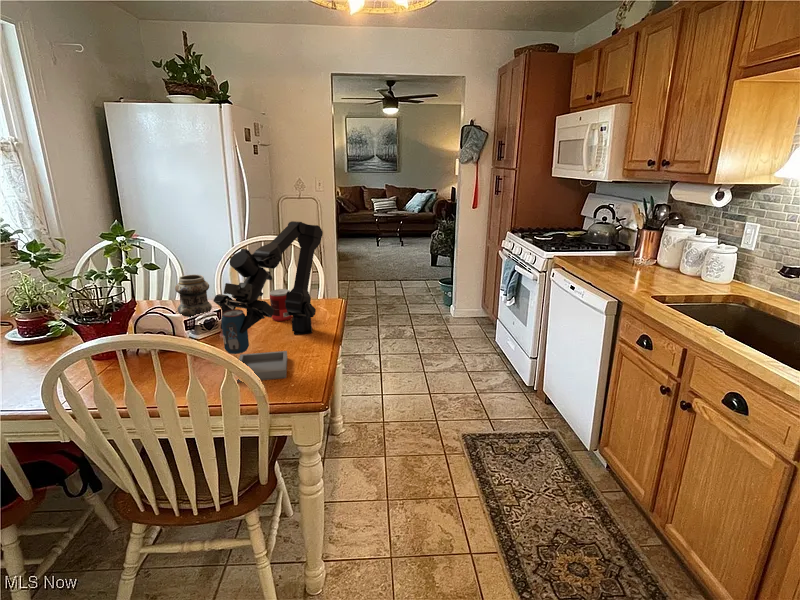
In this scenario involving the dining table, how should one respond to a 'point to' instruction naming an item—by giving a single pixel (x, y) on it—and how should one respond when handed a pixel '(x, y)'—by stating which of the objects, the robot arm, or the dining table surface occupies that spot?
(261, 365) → the tray
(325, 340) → the dining table surface
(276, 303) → the canned food
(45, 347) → the dining table surface
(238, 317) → the soda can
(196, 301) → the apothecary jar
